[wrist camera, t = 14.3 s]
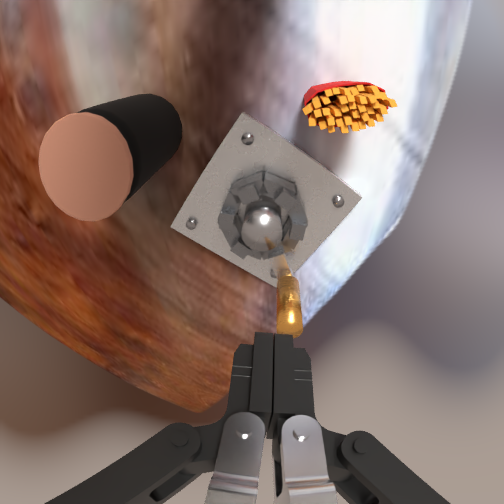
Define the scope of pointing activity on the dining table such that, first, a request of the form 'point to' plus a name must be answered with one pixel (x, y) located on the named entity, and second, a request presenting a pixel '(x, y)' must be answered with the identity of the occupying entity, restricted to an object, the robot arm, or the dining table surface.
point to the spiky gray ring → (291, 234)
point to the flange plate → (275, 165)
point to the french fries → (346, 105)
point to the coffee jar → (107, 153)
